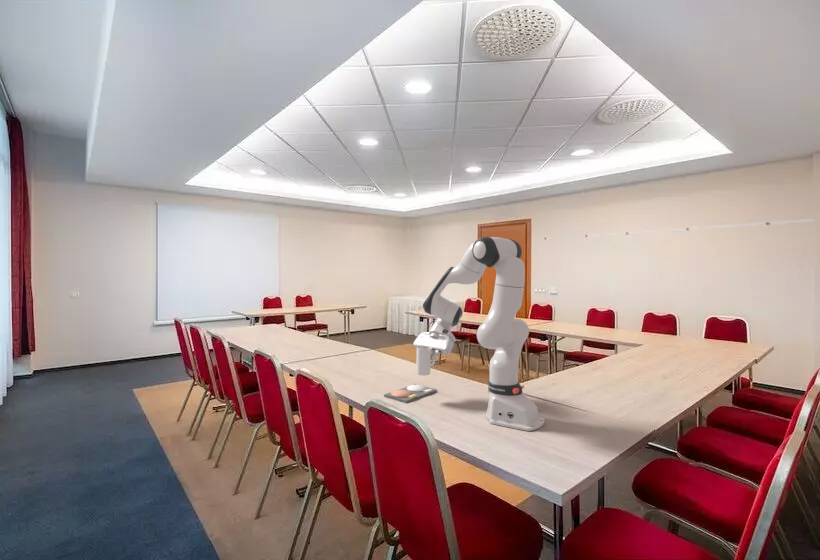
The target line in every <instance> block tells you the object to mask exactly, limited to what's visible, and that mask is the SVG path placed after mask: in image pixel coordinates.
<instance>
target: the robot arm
mask: <svg viewBox="0 0 820 560" xmlns="http://www.w3.org/2000/svg"><path fill="white" fill-rule="evenodd" d="M522 250H523V249H522V247H521V244H520V243H519V242H518V241H516V240H514V239H511V238H503V237H500V236H483V237H478V238H477V239H476V240H475V241H473V242H472V243H471V244H470V245H469V246H468V247H467V249H466V251H465V252H464V254H463V256H462V258H461V260H460V261H459V262H458V264H457V265H455V266H451V267H449V268H448V269H447V270H446V271H445V273H444V274H443V275H442V276H441V278H440V279H439V280H438V282H437V284H436V285H435V286H434V288H433V289H432V290H431V292H430V293H428V295H427V296H426V297H425V298H424V299H423V303H422V308H423V311H424V313H426V314H428V315H431V316H434V317H435V318H436V320H435V322H433V324H432V326H431V327H430V329H429V331H428V332H427V331H423V332H421V333H420V334H418V336H417V337H416V338H415V340H414V341H413V347H414V348H415V349H416V350H417V346H422V345H425V346H430V347H432V349H435V352H436V353H433V354H431V357H430V359H431V361H433V360H435V358H436V359H437V358H438V357H439V356H440V355H441V354H443V355H449V354H450V353H451V352H452V350H453V349H454V345H455V343H456V341H457V338H456V337H455V335H454V334H453V333H452V331H451V330H452V328H454V327H456V326H457V325H458V324H459V321H460V320H461V318H462V317H463V309H462V306H460V305H459V304H457V303H456V302H455V303H454V302H453V301H451V300H449V299H447V298H445V297H443V296H442V295H441V294H442V293H443V291H444V289H446V287H447V285H450V284H459V285H473V284H475V283H478V282H479V281H480V279H482V277H483V275H484V273H485V271H486V268H492V267H493V268H494V269H495V274H496V275H495V281H494V290H493V295H492V296H493V297H492V301H491V305H490V309H489V311H488V313H487V315H486V317H485V319H484V321H483V322H482V323H481V324H480V326H478V328H477V330H476V339H477V342H478V344H479V345H480V346H481V347H482V348H484V349H489V350H495V351H494V354H493V355H492V357H491V358H490V361H489V370H488V371H489V380H488V394H489V395H488V404H487V409H486V411H485V418H486V419H487V420H488V422H489V423H490V424H491V425H495V426H501V427H505V428H511V429H517V430H521V431H524V432H525V431H526V432H531V431H535V430H538V429H540V428H542V427H543V426H544V425H545V421H546V420H545V418H544V417H542V416H540V415H539V409H538V406H537V405H536V404H535V403H534V402H533V401H532V400H531V399H530V398H529V397H528V396H527V395H525V394H524V393H523V389H525V385H521V384H520V382H519V362H520V357H521V352H522V349H523V346H524V344H525V342H526V340H527V339H528V337H529V335H530V328H529V326H528V324H527V322H526V321H524V320H523V319H520V318H517V317H515V316H516V314H517V313H518V311H519V310H520V309H521V307H522V305H523V298H524V289H525V284H526V283H525V280H526V268H525V262H524V261H523V260H522V259H521V257H522Z"/></svg>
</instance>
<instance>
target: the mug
mask: <svg viewBox="0 0 820 560" xmlns="http://www.w3.org/2000/svg"><path fill="white" fill-rule="evenodd" d="M432 353H433V354H434V353H436V352H435V349H432V347H430V346H425V345H422V346H417V349H416V365H415V366H416V367H415V369H416V375H419V376H429V375H430V374H431V368H432V367H434V366H435V363H436V360H437V357H436V358H435V360H431V359H430V357H431V355H432Z"/></svg>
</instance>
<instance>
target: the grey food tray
mask: <svg viewBox="0 0 820 560" xmlns="http://www.w3.org/2000/svg"><path fill="white" fill-rule="evenodd" d="M437 392H438V389H437V388H433V387H430V386H427V385H424V384H423V385H422V384H417V383H415V384H410V385H408V386H406V387H403V388H400V389H396V390H393V391H391V392H388V393H385V394H384V393H383V397H385V398H388V399H390V400H395V401H398V402H401V403H405V404H408V403H411V402H412V401H413V402H414V401H415V400H418V399H422V398H423V397H427V396H428V395H429V396H430V395H431V394H434V393H437Z"/></svg>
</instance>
